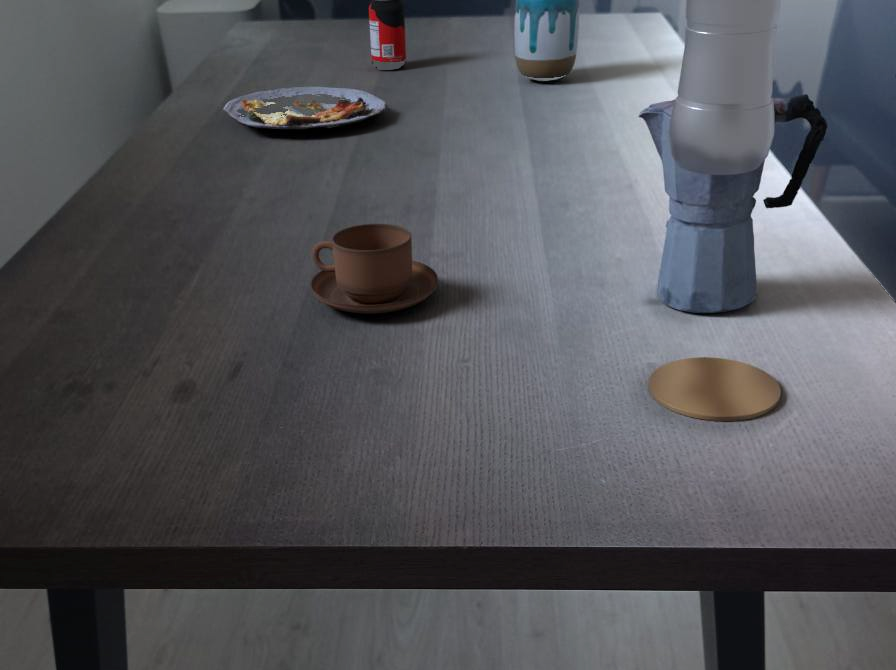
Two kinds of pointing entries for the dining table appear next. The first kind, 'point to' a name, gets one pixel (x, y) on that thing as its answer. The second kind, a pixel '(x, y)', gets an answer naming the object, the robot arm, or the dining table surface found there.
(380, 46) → the beverage can
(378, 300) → the cup and saucer
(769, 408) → the coaster
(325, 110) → the food plate
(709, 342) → the dining table surface
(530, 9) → the vase
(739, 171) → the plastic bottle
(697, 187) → the moka pot
